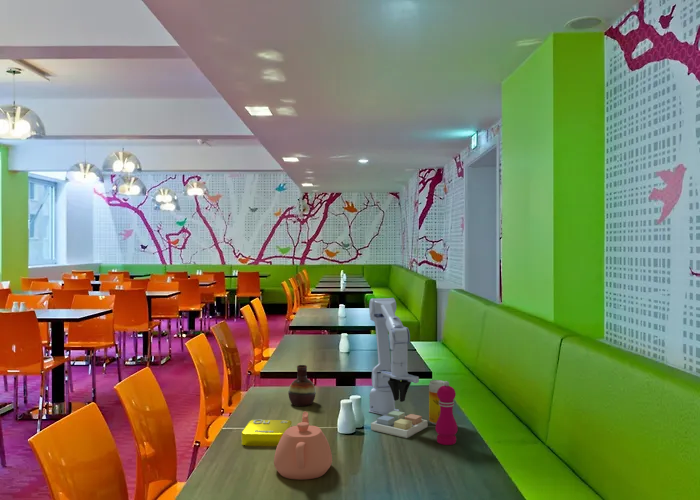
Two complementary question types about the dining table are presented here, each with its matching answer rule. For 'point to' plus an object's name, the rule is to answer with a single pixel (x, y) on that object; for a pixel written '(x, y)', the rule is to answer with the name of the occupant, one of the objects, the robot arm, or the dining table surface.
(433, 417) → the beer can
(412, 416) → the terracotta key
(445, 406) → the pepper mill
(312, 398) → the vase
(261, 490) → the dining table surface
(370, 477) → the dining table surface
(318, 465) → the teapot
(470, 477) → the dining table surface
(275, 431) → the element tile
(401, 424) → the mustard key
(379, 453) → the dining table surface
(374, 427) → the keypad base
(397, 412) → the sage key
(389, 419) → the slate-blue key
